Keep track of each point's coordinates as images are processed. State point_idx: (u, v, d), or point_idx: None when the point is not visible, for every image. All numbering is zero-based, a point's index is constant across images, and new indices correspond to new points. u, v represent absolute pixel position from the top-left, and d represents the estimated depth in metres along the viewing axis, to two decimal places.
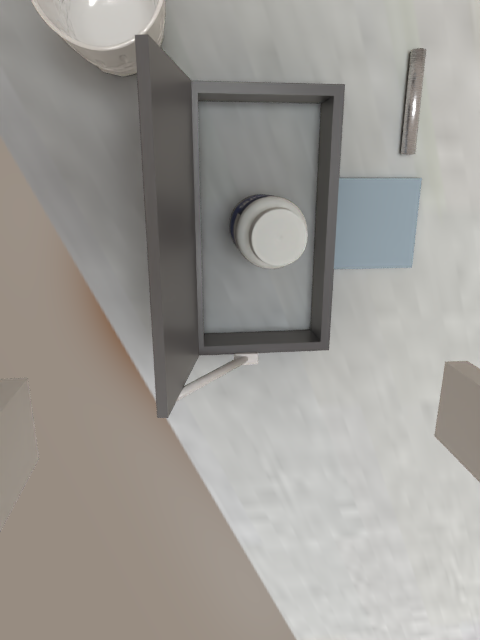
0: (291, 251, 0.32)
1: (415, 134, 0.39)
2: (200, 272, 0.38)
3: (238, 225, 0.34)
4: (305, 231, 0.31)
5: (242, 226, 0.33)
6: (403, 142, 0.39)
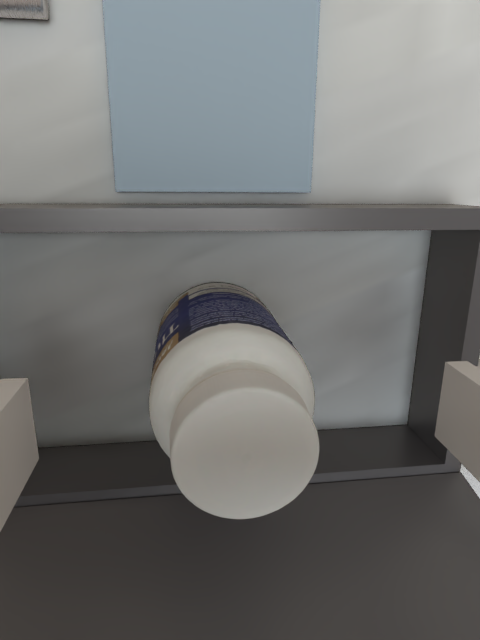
0: (282, 427, 0.12)
1: None
2: None
3: None
4: (230, 395, 0.11)
5: None
6: (17, 15, 0.16)
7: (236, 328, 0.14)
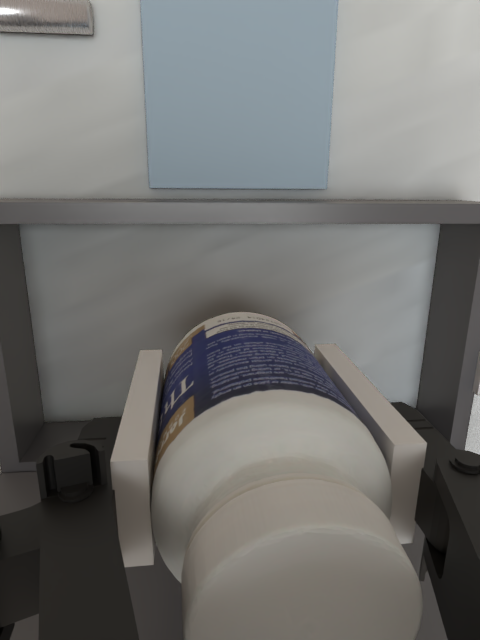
0: (367, 583, 0.07)
1: (44, 3, 0.17)
2: None
3: None
4: (284, 540, 0.07)
5: None
6: (66, 31, 0.18)
7: (281, 400, 0.09)
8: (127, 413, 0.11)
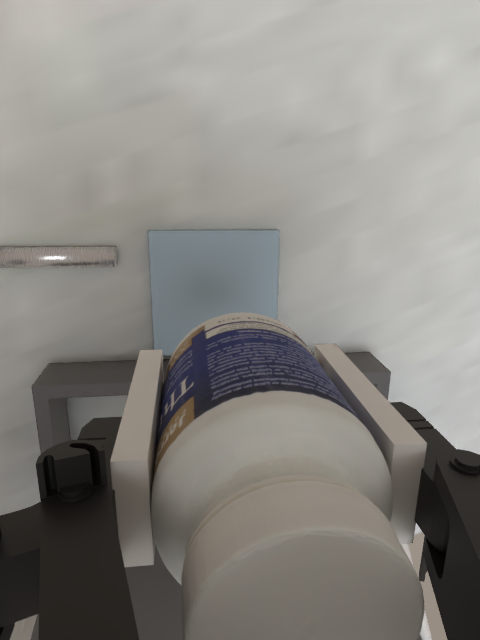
0: (368, 586, 0.07)
1: (87, 254, 0.27)
2: None
3: None
4: (285, 542, 0.07)
5: None
6: (100, 266, 0.27)
7: (282, 401, 0.09)
8: (127, 413, 0.11)
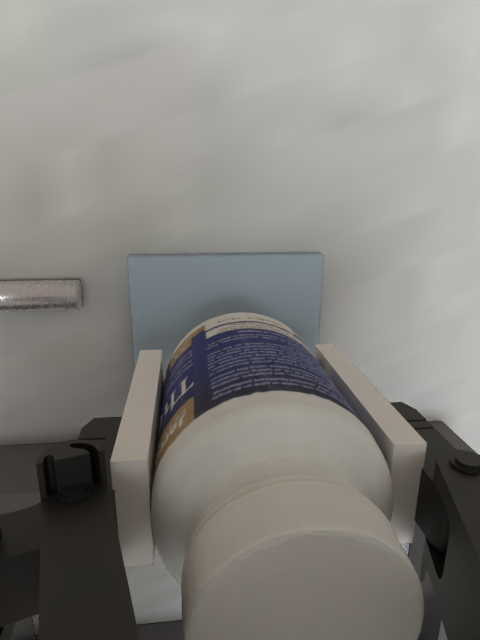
0: (368, 586, 0.07)
1: (33, 293, 0.18)
2: None
3: None
4: (285, 542, 0.07)
5: None
6: None
7: (281, 401, 0.09)
8: (127, 413, 0.11)
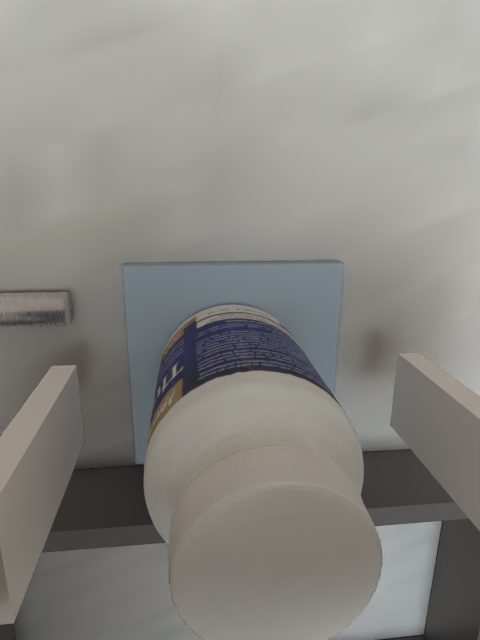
0: (331, 535, 0.08)
1: (15, 307, 0.15)
2: None
3: None
4: (255, 495, 0.08)
5: None
6: None
7: (260, 379, 0.10)
8: None
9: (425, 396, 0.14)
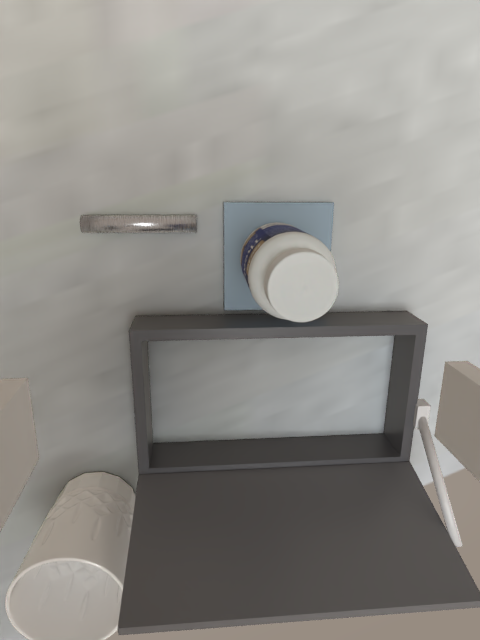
0: (321, 272, 0.25)
1: (174, 221, 0.32)
2: (321, 461, 0.36)
3: (282, 318, 0.28)
4: (296, 255, 0.24)
5: None
6: None
7: (295, 232, 0.27)
8: None
9: None
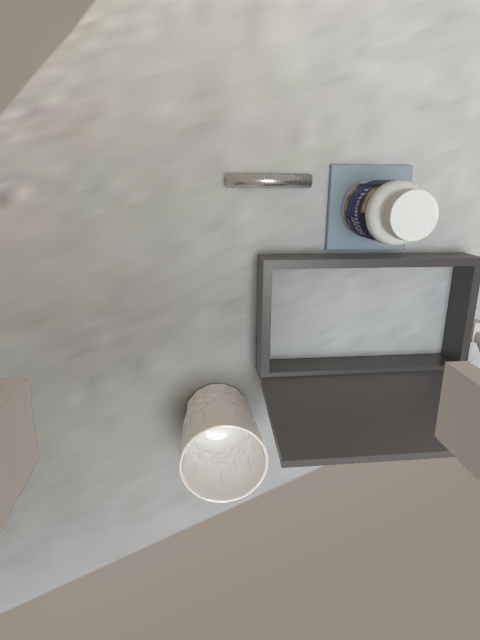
0: (427, 204, 0.35)
1: (296, 178, 0.42)
2: (399, 369, 0.47)
3: (388, 244, 0.39)
4: (411, 191, 0.35)
5: (391, 242, 0.38)
6: (301, 187, 0.43)
7: (402, 180, 0.37)
8: None
9: None
